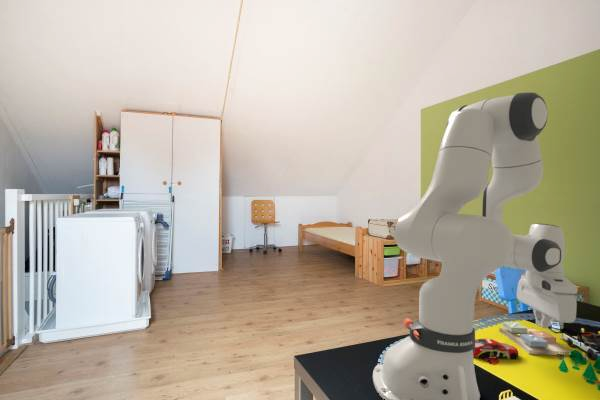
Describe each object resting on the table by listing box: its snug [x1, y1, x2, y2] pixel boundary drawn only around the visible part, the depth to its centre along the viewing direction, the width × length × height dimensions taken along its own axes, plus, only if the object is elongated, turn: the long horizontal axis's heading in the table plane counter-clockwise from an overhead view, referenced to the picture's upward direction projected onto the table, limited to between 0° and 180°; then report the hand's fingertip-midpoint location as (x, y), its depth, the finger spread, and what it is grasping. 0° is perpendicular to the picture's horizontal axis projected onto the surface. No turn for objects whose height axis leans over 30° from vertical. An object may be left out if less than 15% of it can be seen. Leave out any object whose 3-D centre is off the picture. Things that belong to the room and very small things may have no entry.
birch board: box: [498, 327, 572, 356], centre depth 97 cm, size 11×15×1 cm
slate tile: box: [520, 334, 548, 347], centre depth 92 cm, size 5×5×2 cm
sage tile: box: [502, 321, 528, 333], centre depth 101 cm, size 5×5×2 cm
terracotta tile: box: [529, 330, 557, 343], centre depth 97 cm, size 5×5×2 cm
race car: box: [473, 338, 520, 360], centre depth 89 cm, size 13×5×4 cm, turn 89°
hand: (541, 326), depth 96 cm, fingers closed
